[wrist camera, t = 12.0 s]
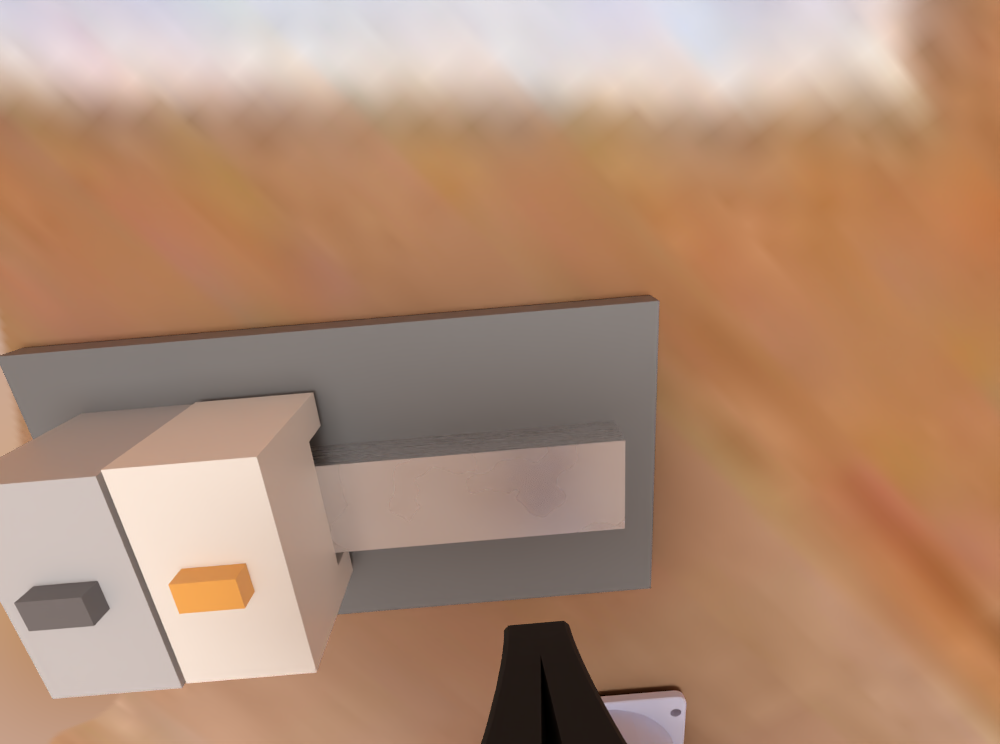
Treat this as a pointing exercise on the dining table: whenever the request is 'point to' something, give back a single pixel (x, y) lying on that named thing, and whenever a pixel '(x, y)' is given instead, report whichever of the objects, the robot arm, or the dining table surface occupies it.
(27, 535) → the module
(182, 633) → the din module
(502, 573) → the mounting board
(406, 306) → the dining table surface
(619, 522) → the din rail
